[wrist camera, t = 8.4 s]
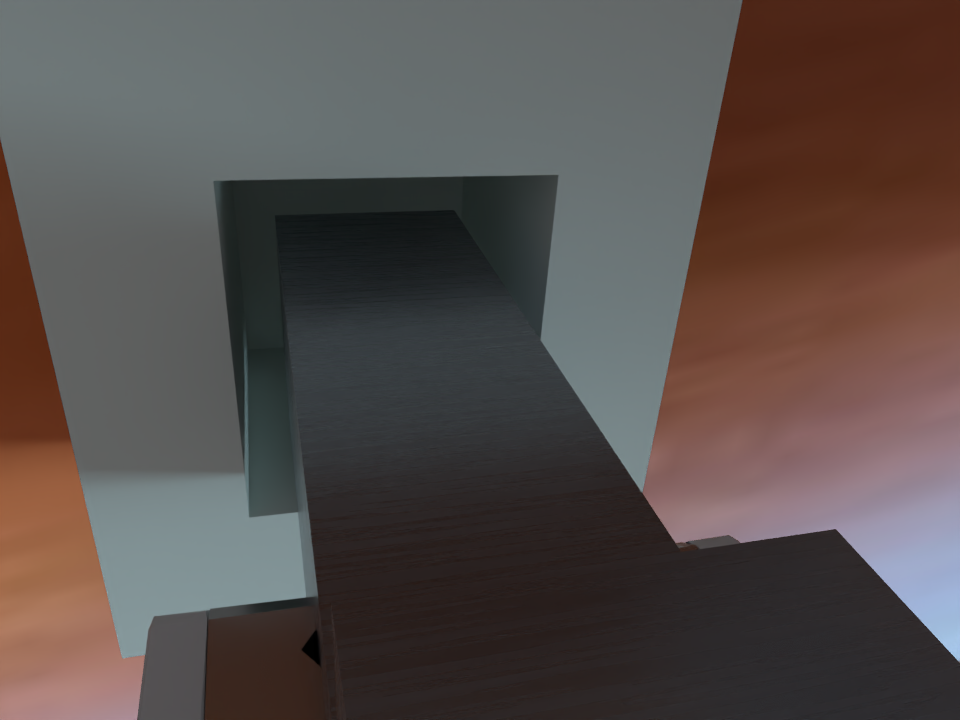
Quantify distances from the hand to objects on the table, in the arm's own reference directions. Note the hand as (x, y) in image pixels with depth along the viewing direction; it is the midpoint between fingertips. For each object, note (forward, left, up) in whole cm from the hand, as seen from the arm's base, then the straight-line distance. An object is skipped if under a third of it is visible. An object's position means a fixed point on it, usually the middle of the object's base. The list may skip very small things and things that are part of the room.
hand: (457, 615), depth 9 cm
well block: (0, 0, -13) cm, 13 cm away
